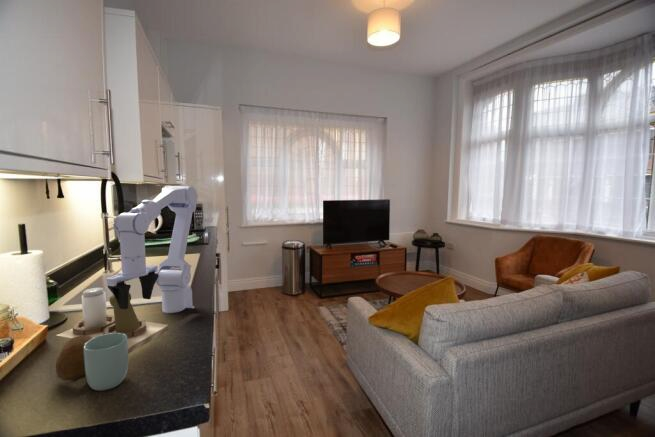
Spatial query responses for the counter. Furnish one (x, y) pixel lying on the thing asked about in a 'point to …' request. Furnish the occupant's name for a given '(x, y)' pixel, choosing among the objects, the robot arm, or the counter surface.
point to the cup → (106, 360)
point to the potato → (72, 359)
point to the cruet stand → (133, 336)
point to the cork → (124, 316)
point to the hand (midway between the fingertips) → (135, 303)
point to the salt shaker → (94, 308)
